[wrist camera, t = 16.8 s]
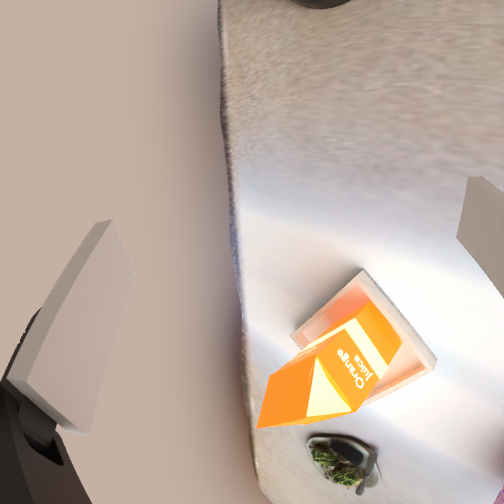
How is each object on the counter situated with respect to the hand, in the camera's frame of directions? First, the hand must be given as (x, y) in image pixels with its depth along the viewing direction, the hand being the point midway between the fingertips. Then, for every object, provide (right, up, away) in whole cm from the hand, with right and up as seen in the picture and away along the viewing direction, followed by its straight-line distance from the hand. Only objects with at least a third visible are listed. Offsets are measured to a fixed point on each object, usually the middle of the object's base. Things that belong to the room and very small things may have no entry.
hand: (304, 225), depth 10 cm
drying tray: (+14, -14, +32) cm, 38 cm away
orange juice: (+14, -12, +31) cm, 36 cm away
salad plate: (+18, -43, +40) cm, 61 cm away
